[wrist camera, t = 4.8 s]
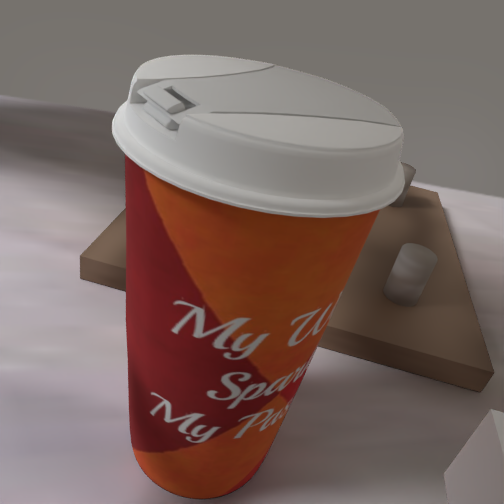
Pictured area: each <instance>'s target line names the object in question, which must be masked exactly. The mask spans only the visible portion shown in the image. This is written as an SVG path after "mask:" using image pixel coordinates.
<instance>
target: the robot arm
mask: <svg viewBox="0 0 504 504" xmlns="http://www.w3.org/2000/svg"><path fill="white" fill-rule="evenodd" d="M444 480H445V487H446V494H447V500H448V504H504V412H500V411H497V410H494V409H490V411H489V412H488V413H487V415H486V416H485V417H484V419H483V420H482V422H481V423H480V424H479V426H478V427H477V428H476V430H475V431H474V433H473V434H472V435H471V437H470V438H469V440H468V441H467V442H466V444H465V445H464V446H463V448H462V449H461V451H460V452H459V453H458V455H457V456H456V457H455V459H454V460H453V462H452V463H451V464H450V466H449V467H448V469H447V470H446V471H445V473H444Z"/></svg>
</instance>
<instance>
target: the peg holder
mask: <svg viewBox="0 0 504 504" xmlns="http://www.w3.org/2000/svg"><path fill="white" fill-rule="evenodd" d="M401 164H402V166H403V171H404V178H405V185H404V188H403V191H402V193H401V195H400V196H399V197H398V198H397V199H396V200H395V201H394V202H393V203H391V204H389V205H388V206H386V207H384V208H382V209H380V211H379V213H378V215H377V218H376V220H375V222H374V224H373V226H372V228H371V231H370V233H369V235H368V237H367V239H366V242H365V244H364V246H363V248H362V250H361V252H360V255H359V257H358V259H357V261H356V263H355V266H354V268H353V270H352V272H351V274H350V276H349V279H348V281H347V283H346V285H345V287H344V290H343V292H342V294H341V296H340V298H339V300H338V303H337V305H336V307H335V309H334V311H333V314H332V316H331V318H330V320H329V322H328V324H327V327H326V329H325V331H324V333H323V335H322V338H321V340H320V342H319V344H318V346H320V347H323V348H327V349H330V350H334V351H337V352H341V353H344V354H348V355H351V356H355V357H358V358H362V359H365V360H369V361H372V362H376V363H379V364H383V365H386V366H390V367H393V368H397V369H400V370H404V371H407V372H411V373H414V374H418V375H421V376H425V377H428V378H432V379H435V380H439V381H442V382H446V383H449V384H453V385H456V386H460V387H463V388H467V389H470V390H474V391H478V392H481V391H482V390H483V388H484V387H485V386H486V384H487V383H488V381H489V380H490V378H491V377H492V375H493V374H494V370H493V367H492V364H491V361H490V357H489V354H488V351H487V348H486V345H485V342H484V338H483V335H482V332H481V329H480V326H479V323H478V319H477V316H476V313H475V310H474V307H473V304H472V300H471V297H470V294H469V291H468V288H467V285H466V281H465V278H464V275H463V272H462V269H461V266H460V262H459V259H458V256H457V253H456V250H455V246H454V243H453V240H452V237H451V234H450V231H449V227H448V224H447V221H446V218H445V215H444V212H443V208H442V205H441V202H440V199H439V196H438V193H437V192H433V191H430V190H426V189H422V188H418V187H414V186H410V184H411V182H412V180H413V177H414V175H415V172H416V170H415V169H414V168H413V167H412V166H410V165H408V164H405V163H402V162H401ZM80 278H81V279H85V280H88V281H92V282H95V283H99V284H102V285H106V286H109V287H113V288H116V289H120V290H123V291H126V208H125V209H124V210H123V211H122V212H121V214H120V215H119V216H118V217H117V218H116V219H115V220H114V221H113V222H112V223H111V224H110V225H109V226H108V227H107V228H106V229H105V230H104V231H103V232H102V233H101V234H100V236H99V237H98V238H97V239H96V240H95V241H94V242H93V243H92V244H91V245H90V246H89V247H88V248H87V249H86V250H85V251H84V252H83V253H82V254H81V255H80Z"/></svg>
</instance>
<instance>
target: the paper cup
mask: <svg viewBox="0 0 504 504" xmlns="http://www.w3.org/2000/svg"><path fill="white" fill-rule="evenodd" d="M112 134H113V136H114V139H115V141H116V143H117V145H118V146H119V147H120V148H121V150H122V151H123V152H124V153H125V188H126V332H127V352H128V388H129V419H130V434H131V443H132V448H133V451H134V455H135V457H136V460H137V462H138V464H139V465H140V467H141V469H142V470H143V471H144V473H145V474H146V475H147V476H148V477H149V478H150V479H151V480H152V481H153V482H154V483H156V484H157V485H158V486H160V487H161V488H163V489H165V490H166V491H169V492H171V493H173V494H176V495H179V496H182V497H187V498H193V499H209V498H216V497H220V496H223V495H226V494H229V493H231V492H233V491H235V490H237V489H239V488H240V487H242V486H243V485H244V484H245V483H247V482H248V481H249V480H250V479H251V478H252V476H253V475H254V474H255V473H256V471H257V470H258V469H259V467H260V465H261V464H262V462H263V460H264V458H265V457H266V455H267V453H268V451H269V449H270V447H271V445H272V443H273V441H274V439H275V436H276V434H277V432H278V430H279V428H280V426H281V424H282V422H283V420H284V417H285V415H286V413H287V411H288V409H289V407H290V405H291V403H292V400H293V398H294V396H295V394H296V392H297V390H298V387H299V385H300V383H301V381H302V379H303V377H304V375H305V372H306V370H307V368H308V366H309V364H310V362H311V359H312V357H313V355H314V353H315V351H316V349H317V346H318V344H319V342H320V340H321V338H322V335H323V333H324V331H325V329H326V327H327V324H328V322H329V320H330V318H331V316H332V314H333V311H334V309H335V307H336V305H337V303H338V300H339V298H340V296H341V294H342V292H343V290H344V287H345V285H346V283H347V281H348V279H349V276H350V274H351V272H352V270H353V268H354V266H355V263H356V261H357V259H358V257H359V255H360V252H361V250H362V248H363V246H364V244H365V242H366V239H367V237H368V235H369V233H370V231H371V228H372V226H373V224H374V222H375V220H376V218H377V215H378V213H379V211H380V209H382V208H384V207H386V206H388V205H389V204H391V203H393V202H394V201H395V200H396V199H397V198H398V197H399V196H400V195H401V193H402V191H403V188H404V185H405V178H404V171H403V166H402V164H401V162H400V160H399V159H400V154H401V150H402V145H403V141H404V134H403V129H402V126H401V125H400V123H399V122H398V120H397V119H396V118H395V116H394V115H393V114H392V113H391V112H390V111H389V110H388V109H386V108H385V107H384V106H383V105H381V104H380V103H378V102H376V101H375V100H373V99H371V98H369V97H367V96H365V95H363V94H361V93H359V92H357V91H355V90H353V89H350V88H348V87H346V86H343V85H341V84H338V83H335V82H333V81H330V80H327V79H324V78H321V77H318V76H315V75H311V74H308V73H304V72H301V71H297V70H294V69H290V68H286V67H282V66H278V65H274V64H269V63H264V62H258V61H252V60H247V59H240V58H232V57H223V56H211V55H210V56H209V55H174V56H166V57H161V58H157V59H152V60H150V61H148V62H146V63H144V64H142V65H141V66H140V67H139V68H138V70H137V71H136V72H135V74H134V77H133V79H132V82H131V86H130V91H129V96H128V100H127V101H126V102H124V103H123V104H122V105H121V106H120V107H119V109H118V111H117V113H116V114H115V116H114V118H113V121H112Z"/></svg>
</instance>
